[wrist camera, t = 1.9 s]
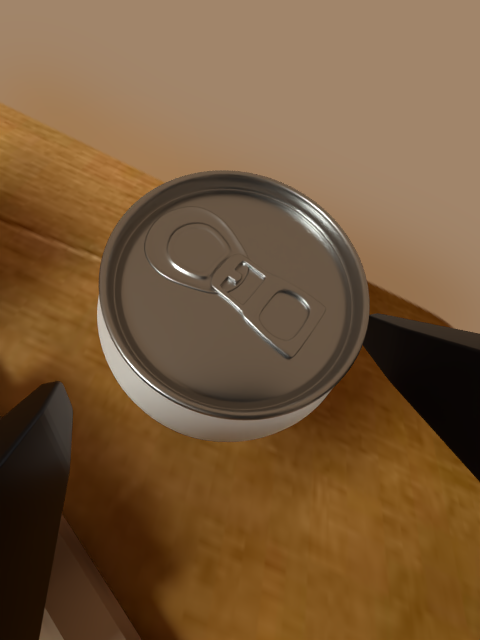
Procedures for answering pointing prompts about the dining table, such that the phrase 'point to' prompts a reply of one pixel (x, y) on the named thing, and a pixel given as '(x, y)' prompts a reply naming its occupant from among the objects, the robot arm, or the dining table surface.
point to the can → (230, 305)
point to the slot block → (80, 597)
